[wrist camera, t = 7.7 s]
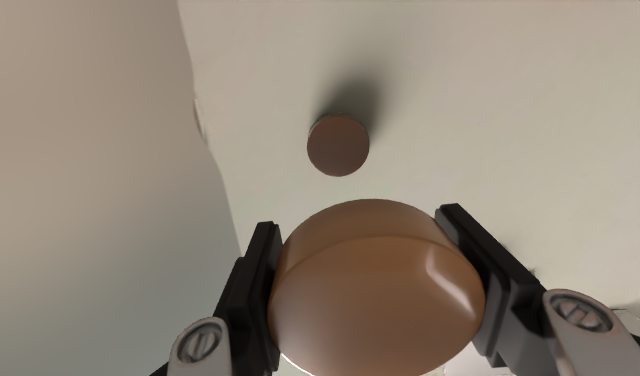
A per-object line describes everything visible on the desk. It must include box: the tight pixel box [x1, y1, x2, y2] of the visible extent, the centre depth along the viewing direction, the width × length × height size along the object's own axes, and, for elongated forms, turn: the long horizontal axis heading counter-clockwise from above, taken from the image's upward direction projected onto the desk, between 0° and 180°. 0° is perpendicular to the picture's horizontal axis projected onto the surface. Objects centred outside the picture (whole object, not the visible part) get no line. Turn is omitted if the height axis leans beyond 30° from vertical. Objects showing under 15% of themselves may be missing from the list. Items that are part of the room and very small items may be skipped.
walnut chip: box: [307, 112, 369, 177], centre depth 22 cm, size 5×5×2 cm
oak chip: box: [267, 199, 486, 376], centre depth 8 cm, size 6×6×2 cm
